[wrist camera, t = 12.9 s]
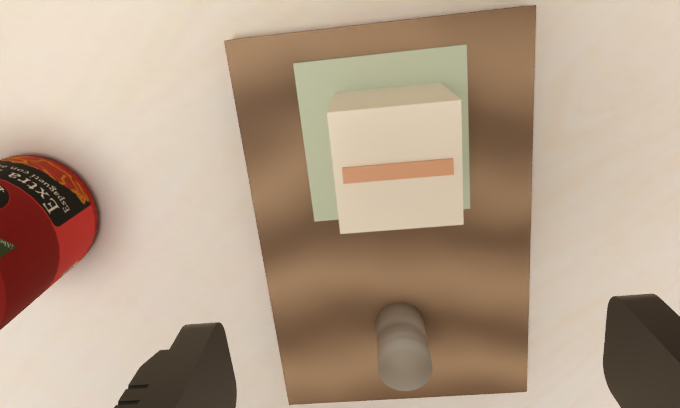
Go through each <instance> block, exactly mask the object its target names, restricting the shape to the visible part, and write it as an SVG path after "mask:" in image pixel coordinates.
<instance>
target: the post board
mask: <svg viewBox="0 0 680 408" xmlns="http://www.w3.org/2000/svg"><path fill="white" fill-rule="evenodd" d="M535 26H536V5H533V6H522V7H513V8H504V9H495V10H487V11H478V12H469V13H460V14H451V15H443V16H434V17H425V18H416V19H408V20H399V21H390V22H381V23H372V24H364V25H355V26H346V27H337V28H329V29H320V30H311V31H302V32H293V33H285V34H276V35H267V36H258V37H250V38H241V39H232V40H226V41H224V43H225V48H226V54H227V60H228V65H229V71H230V76H231V82H232V88H233V93H234V99H235V104H236V110H237V116H238V121H239V127H240V132H241V138H242V144H243V149H244V155H245V160H246V166H247V172H248V177H249V183H250V188H251V194H252V200H253V205H254V211H255V216H256V222H257V228H258V233H259V239H260V245H261V250H262V256H263V261H264V267H265V273H266V278H267V284H268V289H269V295H270V301H271V306H272V312H273V317H274V323H275V329H276V334H277V340H278V345H279V351H280V357H281V362H282V368H283V373H284V379H285V385H286V390H287V396H288V401H289V405H294V404H312V403H330V402H349V401H367V400H385V399H404V398H422V397H440V396H458V395H477V394H495V393H513V392H527V357H528V316H529V274H530V233H531V192H532V150H533V109H534V68H535ZM464 44H467V74H468V123H469V172H470V209H463V217H464V225H453V226H440V227H426V228H413V229H400V230H387V231H374V232H360V233H347V234H340V227H339V220H328V221H316V222H314V214H313V207H312V200H311V192H310V185H309V177H308V170H307V163H306V155H305V148H304V141H303V133H302V126H301V118H300V111H299V104H298V96H297V89H296V82H295V74H294V67H293V63H299V62H308V61H317V60H326V59H336V58H345V57H354V56H363V55H372V54H381V53H391V52H400V51H409V50H418V49H427V48H436V47H446V46H455V45H464Z"/></svg>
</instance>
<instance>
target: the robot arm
mask: <svg viewBox="0 0 680 408" xmlns="http://www.w3.org/2000/svg"><path fill="white" fill-rule="evenodd" d="M603 368H604V374H605V378H606V382H607V385H608V387H609V389H610V391H611V393H612V395H613V396H614V398H615V399H616V401H617V402H618V404H619V405H620V407H621V408H680V317H679V316H678V315H677V314H676V313H675V312H674V311H673V310H672V309H671V308H670V307H669V306H668V305H667V304H666V303H665V302H664V301H662V300H661V299H660V298H659V297H658V296H657V295H655V294H642V295H627V296H614V297H612V298H611V299H610V301H609V303H608V308H607V320H606V332H605V343H604V355H603ZM236 397H237V390H236V381H235V376H234V371H233V366H232V362H231V357H230V353H229V348H228V343H227V339H226V334H225V330H224V327H223V325H222V324H221V323H204V324H190V325H184V326H183V327H182V329H181V331H180V332H179V334H178V336H177V337H176V339H175V341H174V343H173V344H172V346H171V348H170V349H169V350H160V351H159V352H157V353H156V354H155V355H154V356H153V357H151V358H150V359H149V360H148V361H147V362H145V363H144V364H143V365H142V366H141V367H140V368H139V370H138V371H137V373H136V374H135V376H134V377H133V379H132V381H131V382H130V384H129V385H128V389H126V390H125V392H124V393H123V395H122V396H121V398H120V399H119V401H118V405H116V406H115V407H114V408H235V407H236Z"/></svg>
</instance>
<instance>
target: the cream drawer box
mask: <svg viewBox="0 0 680 408" xmlns="http://www.w3.org/2000/svg"><path fill="white" fill-rule="evenodd" d="M327 119H328V128H329V137H330V146H331V155H332V164H333V173H334V182H335V191H336V200H337V209H338V218H339V227H340V234H347V233H360V232H374V231H387V230H400V229H413V228H426V227H440V226H453V225H464V217H463V164H462V112H461V99H460V98H458V97H457V96H456V95H455V94H454V93H453V92H451V91H450V90H449V89H448V88H447V87H446V86H444V85H443V84H442V83H441V82H437V83H427V84H416V85H406V86H396V87H386V88H376V89H365V90H355V91H345V92H335V93H334V95H333V98H332V100H331V103H330V106H329V108H328V111H327Z"/></svg>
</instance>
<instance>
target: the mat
mask: <svg viewBox="0 0 680 408" xmlns="http://www.w3.org/2000/svg"><path fill="white" fill-rule="evenodd" d="M293 67H294V74H295V82H296V89H297V96H298V104H299V111H300V118H301V126H302V133H303V141H304V148H305V155H306V163H307V170H308V177H309V185H310V192H311V200H312V207H313V214H314V222H316V221H328V220H339V218H338V209H337V200H336V191H335V182H334V173H333V164H332V155H331V146H330V137H329V128H328V119H327V111H328V108H329V106H330V103H331V100H332V98H333V95H334V93H335V92H345V91H355V90H365V89H376V88H386V87H396V86H406V85H416V84H427V83H437V82H441V83H442V84H443V85H444V86H446V87H447V88H448V89H449V90H450V91H451V92H453V93H454V94H455V95H456V96H457V97H458V98H460V99H461V112H462V164H463V209H470V172H469V123H468V74H467V44H464V45H455V46H446V47H436V48H427V49H418V50H409V51H400V52H391V53H381V54H372V55H363V56H354V57H345V58H336V59H326V60H317V61H308V62H299V63H293Z"/></svg>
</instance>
